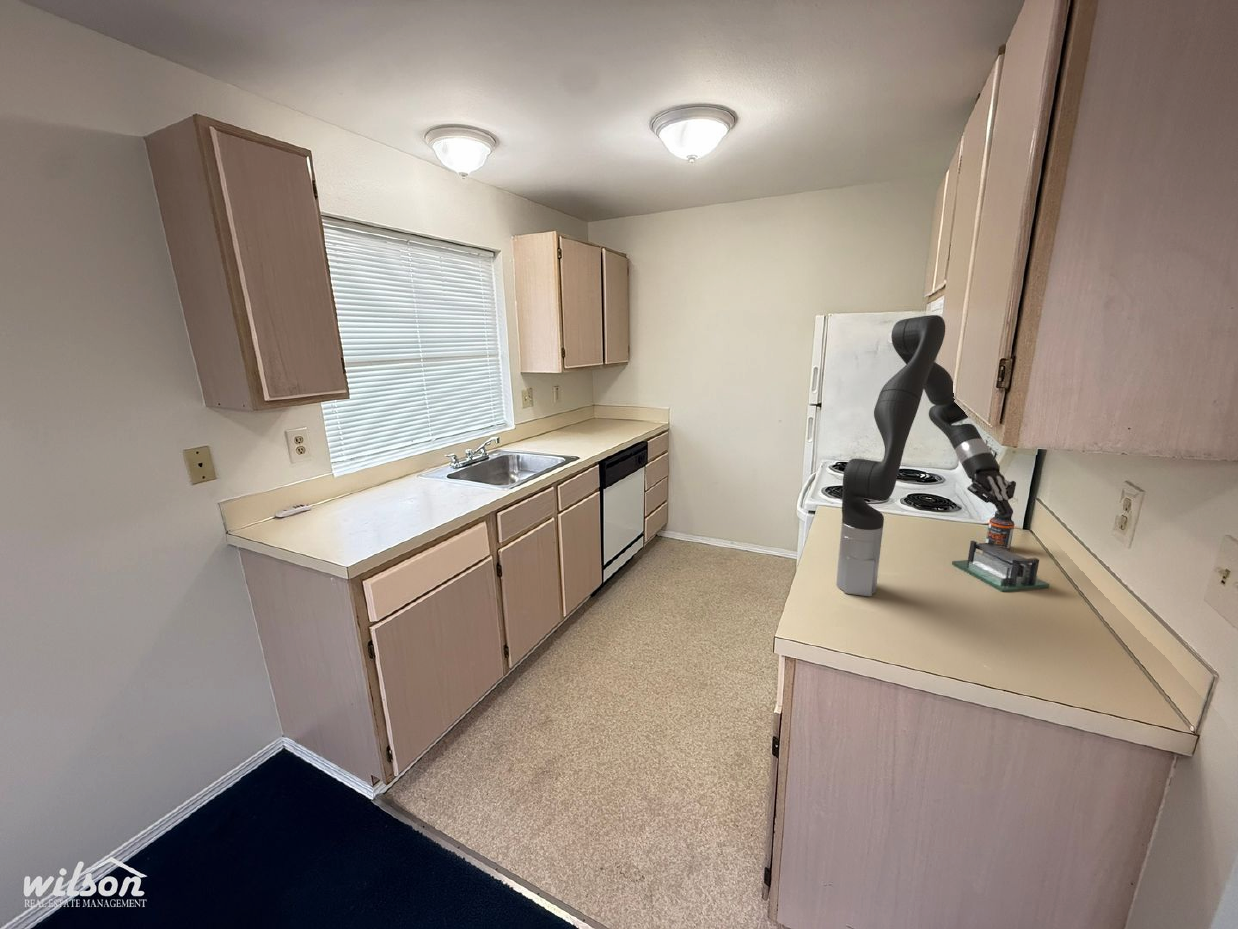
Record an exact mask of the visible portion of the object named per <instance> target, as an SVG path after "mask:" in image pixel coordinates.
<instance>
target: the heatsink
mask: <svg viewBox="0 0 1238 929" xmlns="http://www.w3.org/2000/svg"><path fill="white" fill-rule="evenodd" d="M977 543H978V541H976V540H970V543H969V544H970V545H969V550H968V551H969V552H968V556H967V559H965V560H963V559H962V560H952V562H951V565H952V566H954V567H956V568H957V569H959V570H961V571H963V570H964V571H963V572H964V573H966V572H967V574H968V573H969V575H970V576H972V577H974V578H976V579H977V578H978V580H979V579H980V581H981V582H983V583H985V584H987V585H988V584H989V587H993V589H996V590H998V591H1000V592H1001V593H1003V592H1014V591H1015V592H1016V591H1026V590H1027V589H1028V590H1036V589H1037V590H1038V589H1039V590H1040V589H1048V588H1049V586H1050V583H1047V582H1045V581H1043V580H1042V579H1039V578H1038V569H1039V566H1040V565H1039V564H1040V559H1038V558H1037V557H1032V558H1031V557H1029V558H1027V559H1016V560H1013V564H1012V563H1010V562H1008V561H1005V560H1003V559H1000V558H998V557H996V556H993V555H991V554H989V553H986V552H984V551H982V553H980V552H978V551H977V549H976V546H977ZM988 543H990V544H991V545H995V541H994V540H991V539H990V540H989V541H988ZM1028 563H1029V564H1028Z"/></svg>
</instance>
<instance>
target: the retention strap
mask: <svg viewBox="0 0 1238 929" xmlns="http://www.w3.org/2000/svg"><path fill="white" fill-rule="evenodd" d="M976 550H979V551H982V552H983V551H984V552H986V553H989V554H991V555H993V556H996V557H998V558H1000V559H1003V560H1005V561H1008V562H1010V563H1012V564H1013V560H1016V559H1028V558H1027V557H1024V556H1021V555H1019V554H1016V553H1013V552H1011V551H1010V550H1009V551H1006V550H1004V549H1001V548H999V547H996V546H994V545H991V544H990V543H986V542H980V543H979V542H977V546H976ZM1028 564H1029V563H1028Z"/></svg>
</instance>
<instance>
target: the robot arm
mask: <svg viewBox="0 0 1238 929" xmlns="http://www.w3.org/2000/svg"><path fill="white" fill-rule="evenodd" d="M945 335H946V322H945V320H944V318H943V317H942V316H940V315H937V314H928V315H922V316H915V317H914V316H913V317H909V318H903V319H900V320H899V321H897V322H896V323H895V324H894V325H893V327H892V331H891V343H892V346H893V348H894V351H895V352H896V353H897V355H898V356H899V358H900V359H901V360H902V361H903V362H904V363H905V366H903V367H902V368H901V369H899V371H898V372H897V373H895V374H894V375H893V376H892V377H891V378H890V379H889V380H888V381H887V382H886V383H885V384H884V385H883V386H882V388H881V389H880V392H879V395H878V398H877V399H876V400H877V401H876V403H875V406H874V410H873V418H874V421H875V425H876V426H877V429H878V432H879V433H880V436H881V439H882V442H883V446H884V454H883V459H882V460H881V461H877V460H871V459H863V458H851V459H850V460H849V461H847V463H846V465H845V468H844V470H843V477H842V498H841V500H842V502H841V514H842V515H841V518H842V519H841V530H840V539H839V550H838V558H837V559H838V562H837V569H836V570H837V572H836V584H835V585H836V587H838V588H839V589H840V591H841V590H842V591H843V593H844V594H849V595H856V596H862V597H863V596H864V597H870V598H871V597H872V596H873V594H875V593H877V587H878V586H877V585H878V578H879V576H878V575H879V568H880V567H879V566H880V558H881V557H880V556H881V549H882V540H883V534H884V532H883V530H884V524H885V517H884V514H883V513H882V512H880V511H879V510H877V509H876V508H874V507H873V506H871V505H870V504H868V502H866V500H865V499H869V500H873V501H874V500H875V501H880V502H885V501H888V499H890V497H891V496H892V494H893V493H894V490H895V487H896V483H897V480H898V477H899V476H898V475H899V472H900V467H901V464H902V459H903V455H904V451H905V448H906V444H907V441H908V437H909V435H910V431H911V429H912V426H913V424H914V420H915V419H916V415H917V413H918V410H919V406H920V403H921V400H922V396H923V393H924V392H925V394H926V397H927V399H928V401H929V402H930V403H931V404H932V405H933V406H931V407H930V408H929V410H928V418H929V420H930V421H931V422H932V423H933V425H935V427H937V428H938V429H939V430H940V431H941V432H943V434H944V435H945V436H946V437H947V439H948V441H949V442H950V444H951V445H952V448H953V449H954V451H955V454H956V456H957V458H958V461H959V462H960V464H961V466H962V469H963V471H964V472H965V474H966V475H967V478H969V479H970V480H971V484H969V486H968V487H967V488H966V489H967V490H968V491H969V493H971V494H973V495H974V496H976V497H977V498H979V499H980V501H981V500H982V501H983V502H984V503H988V504H989V503H990V504H992V505H994V507H995V508H996V511H998V512H999V514H1000V515H1001V516H1002V517H1009V516H1010V515H1012V516H1013V514H1014V509H1013V508H1012V505H1011V504H1010V502H1009V500H1011V499H1013V498H1014V496H1015V491H1016V487H1017V482H1016V481H1015V480H1011V481H1009V480H1007V479H1006V478H1005V476H1004V475H1003V474H1002V473H1001V472H1000V469H1001V467H1000V464H999V463H998V461H997V459H996V458H995V456H994V454H993V452H992V451H991V449H990V447H989V446H988V445H987V443H986V442H985V440H984V439H983V437H982V436H981V434H980V432H979V430H978V429H977V427H976V426H975V425H974V424H972V423H963V424H962V423H961V424H957V423H958V422H961V421H964V420H966V419H968V418H969V417H968V416H967V415H966V414H965V412H964V411H963V410H962V409H961V408H960V407H959V406H958V405H957V404H956V403H955V402H954V400H955V399H954V398H953V397H954V393H953V383H954V381H953V378H952V376H951V374H950V373H949V372H948V371H947V370H946V369H945V368H944V367H943V366H941V365H940V364H938V363H937V362H936V359H937V357H938V355H939V353H940V350H941V348H942V345H943V343H944V339H945ZM954 424H955V425H954Z"/></svg>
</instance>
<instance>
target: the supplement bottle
mask: <svg viewBox="0 0 1238 929" xmlns="http://www.w3.org/2000/svg"><path fill="white" fill-rule="evenodd" d="M1012 517H1013V514H1012V515H1010V516H1009V517H1002V516H1001V515H1000V514H999V512H998V510H996V511H995V512H994V515H993V517H991V518H989V522H988V525H987V526H988V528H987V533H986V538H985V543H988V541H989V540H990V539H991V540H994V541H995V545H994V546H996V547H999V548H1001V549H1004V550H1006V551H1009V552H1010V550H1011V546H1012V539H1013V534H1014V529H1015V521H1014V520H1013V518H1012Z"/></svg>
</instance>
